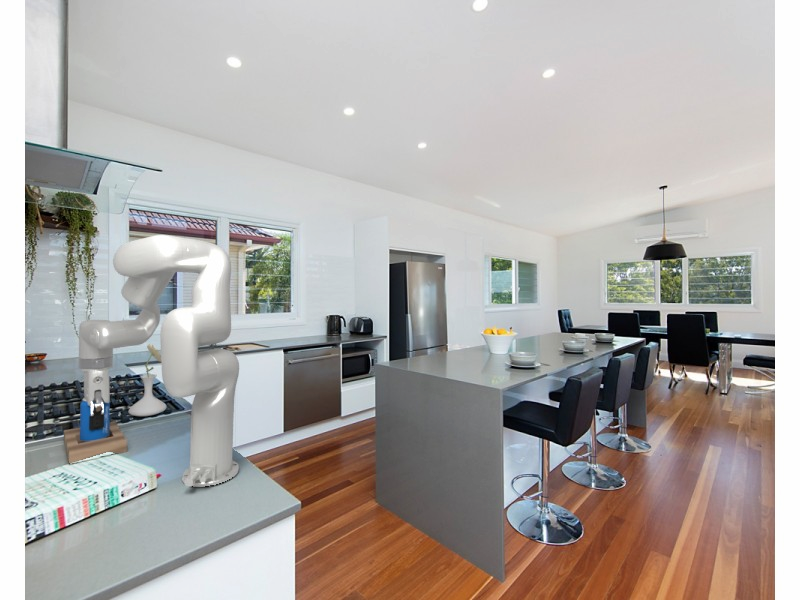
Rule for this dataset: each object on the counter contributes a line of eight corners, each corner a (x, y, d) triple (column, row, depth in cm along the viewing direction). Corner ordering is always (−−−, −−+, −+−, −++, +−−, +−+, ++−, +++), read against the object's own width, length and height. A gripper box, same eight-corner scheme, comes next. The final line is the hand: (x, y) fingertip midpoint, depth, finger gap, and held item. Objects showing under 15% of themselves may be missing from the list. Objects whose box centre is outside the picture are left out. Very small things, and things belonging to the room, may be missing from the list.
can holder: (126, 451, 103) (126, 441, 103) (69, 465, 94) (69, 453, 94) (114, 430, 117) (114, 421, 117) (63, 440, 108) (63, 430, 108)
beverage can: (96, 444, 102) (96, 401, 102) (73, 443, 102) (74, 400, 102) (114, 435, 108) (115, 395, 108) (93, 434, 109) (94, 393, 108)
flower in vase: (166, 416, 131) (167, 346, 130) (126, 421, 125) (128, 348, 124) (166, 405, 142) (168, 341, 141) (130, 409, 136) (131, 342, 135)
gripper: (117, 367, 101) (116, 431, 102) (108, 357, 113) (106, 414, 114) (81, 370, 96) (80, 438, 96) (75, 359, 108) (74, 419, 109)
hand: (94, 424), depth 105 cm, fingers closed on beverage can, 6 cm apart
